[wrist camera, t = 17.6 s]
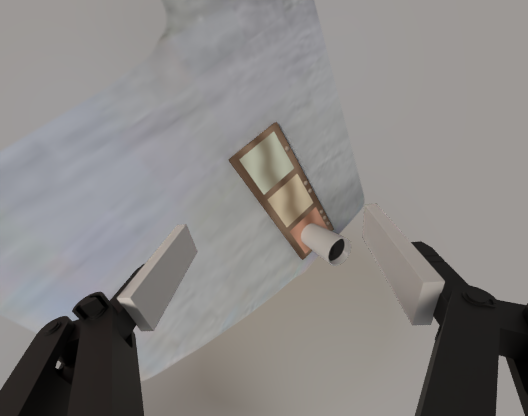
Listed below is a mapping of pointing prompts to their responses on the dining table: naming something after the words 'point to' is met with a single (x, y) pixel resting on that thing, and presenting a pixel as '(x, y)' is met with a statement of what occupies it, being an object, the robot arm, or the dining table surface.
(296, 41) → the dining table surface
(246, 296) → the dining table surface
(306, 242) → the white coffee cup
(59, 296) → the dining table surface
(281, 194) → the tile board
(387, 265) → the robot arm
